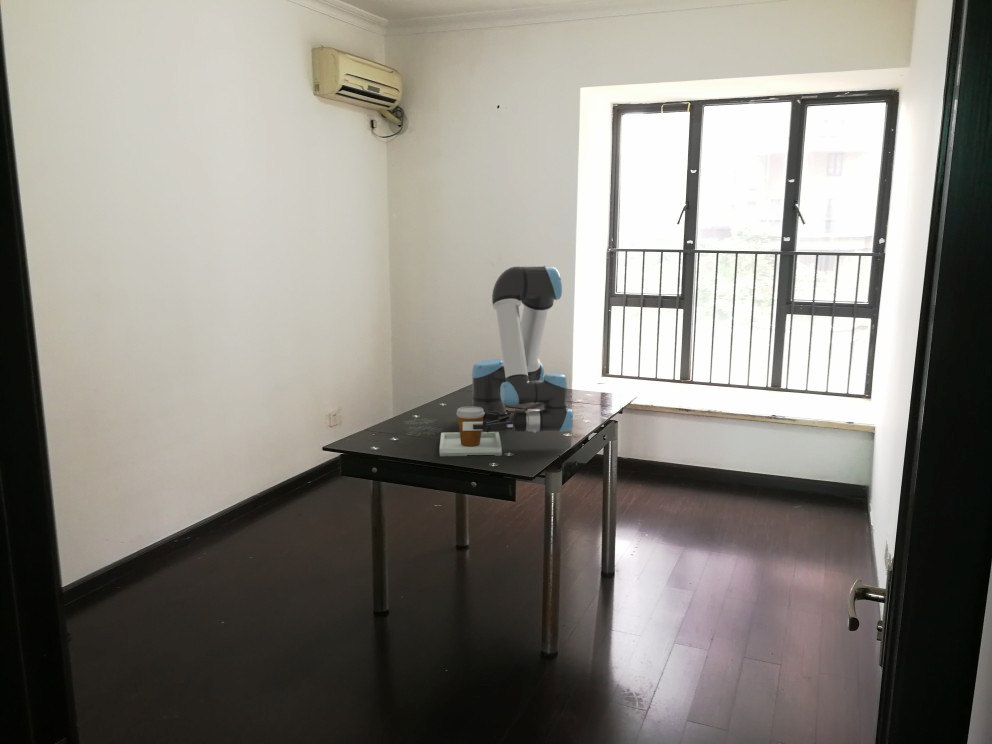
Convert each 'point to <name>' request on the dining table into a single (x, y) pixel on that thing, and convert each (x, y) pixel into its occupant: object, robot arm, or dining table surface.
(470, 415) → the disposable coffee cup
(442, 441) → the tray
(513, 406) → the hardcover book
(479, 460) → the dining table surface
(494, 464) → the dining table surface
